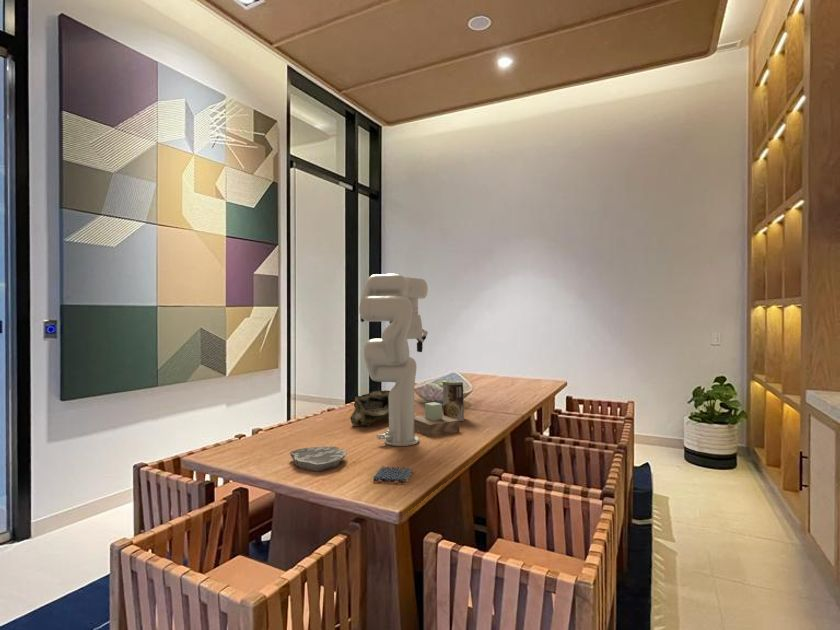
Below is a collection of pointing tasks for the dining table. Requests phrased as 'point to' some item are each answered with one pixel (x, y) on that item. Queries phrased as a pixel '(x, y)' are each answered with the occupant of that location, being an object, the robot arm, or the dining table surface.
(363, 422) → the hollow geode rock
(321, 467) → the flat grey stone slab
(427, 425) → the block
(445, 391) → the coffee box
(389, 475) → the bristly blue-grey mat
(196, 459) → the dining table surface
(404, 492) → the dining table surface
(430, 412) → the sage block
